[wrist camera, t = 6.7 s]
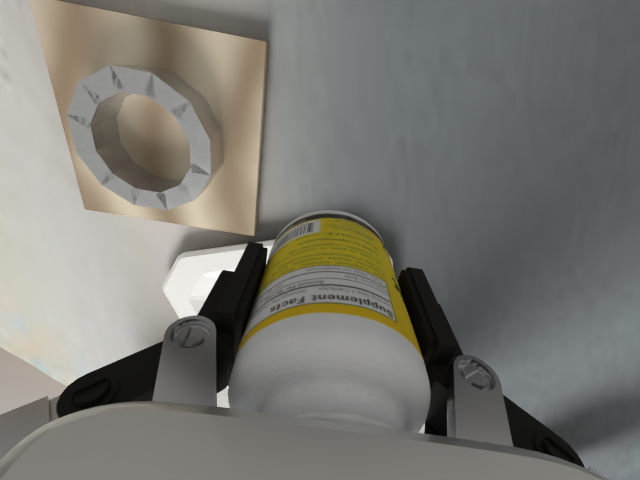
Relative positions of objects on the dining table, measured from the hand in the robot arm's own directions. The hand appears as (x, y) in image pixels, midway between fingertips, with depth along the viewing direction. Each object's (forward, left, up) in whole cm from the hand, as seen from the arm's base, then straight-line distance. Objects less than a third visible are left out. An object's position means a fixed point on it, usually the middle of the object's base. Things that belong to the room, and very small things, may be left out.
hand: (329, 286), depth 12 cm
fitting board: (+14, 0, -16) cm, 22 cm away
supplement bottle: (0, 0, -2) cm, 2 cm away
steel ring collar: (+14, 0, -15) cm, 21 cm away
